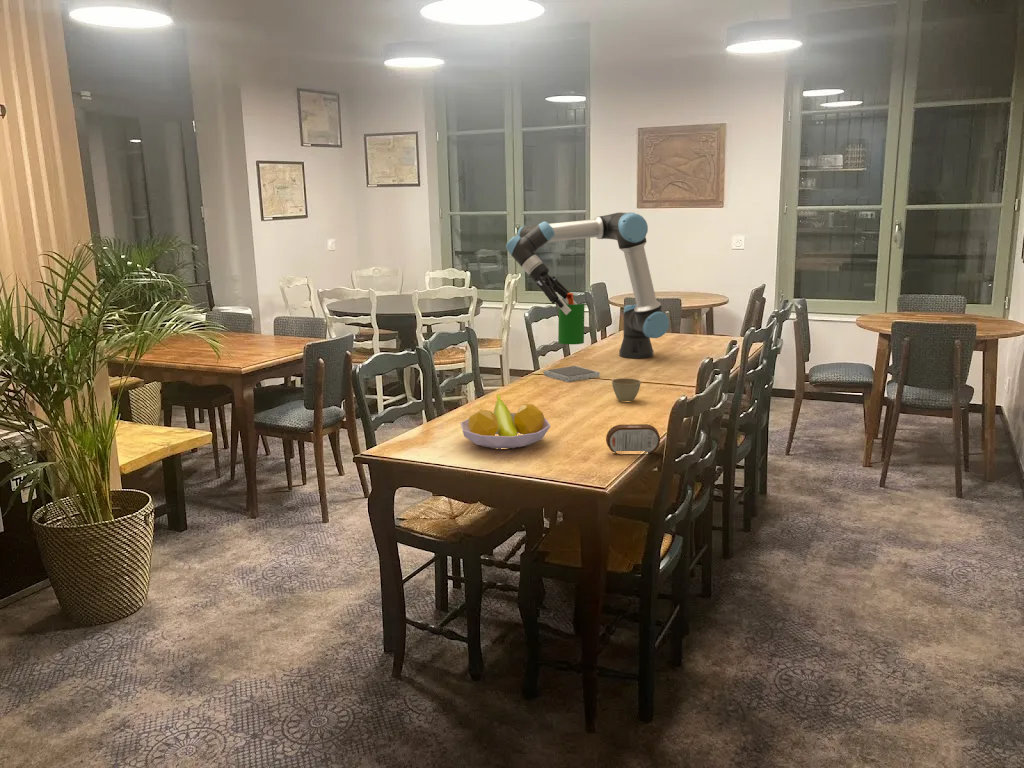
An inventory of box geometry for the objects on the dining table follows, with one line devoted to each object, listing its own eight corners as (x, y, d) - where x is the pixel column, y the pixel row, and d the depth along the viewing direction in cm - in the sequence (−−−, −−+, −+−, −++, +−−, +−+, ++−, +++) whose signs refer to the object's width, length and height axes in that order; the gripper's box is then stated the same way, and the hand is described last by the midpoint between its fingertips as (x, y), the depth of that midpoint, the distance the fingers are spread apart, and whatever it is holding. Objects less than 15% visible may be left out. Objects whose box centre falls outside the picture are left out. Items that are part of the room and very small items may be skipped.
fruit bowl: (544, 458, 233) (544, 418, 230) (450, 454, 238) (448, 416, 235) (557, 430, 260) (556, 395, 257) (471, 427, 264) (470, 392, 262)
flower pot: (629, 405, 288) (629, 385, 286) (606, 401, 295) (606, 381, 293) (646, 400, 295) (646, 380, 293) (622, 396, 302) (622, 376, 300)
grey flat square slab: (575, 370, 346) (575, 365, 346) (599, 376, 333) (599, 371, 333) (543, 375, 338) (543, 370, 337) (567, 382, 325) (567, 376, 324)
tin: (658, 451, 237) (659, 422, 235) (660, 455, 234) (661, 425, 232) (605, 453, 237) (605, 424, 235) (607, 456, 234) (607, 427, 232)
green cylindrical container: (584, 341, 336) (584, 291, 332) (583, 344, 328) (584, 293, 323) (558, 341, 337) (559, 291, 333) (557, 344, 329) (558, 293, 324)
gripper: (541, 273, 344) (577, 314, 340) (518, 278, 326) (556, 321, 322) (552, 260, 340) (589, 301, 337) (530, 264, 322) (568, 308, 319)
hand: (573, 311), depth 329 cm, fingers closed on green cylindrical container, 8 cm apart
